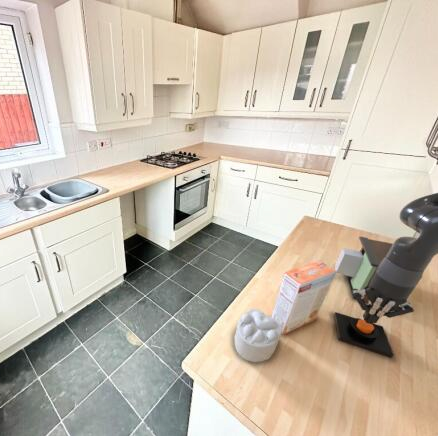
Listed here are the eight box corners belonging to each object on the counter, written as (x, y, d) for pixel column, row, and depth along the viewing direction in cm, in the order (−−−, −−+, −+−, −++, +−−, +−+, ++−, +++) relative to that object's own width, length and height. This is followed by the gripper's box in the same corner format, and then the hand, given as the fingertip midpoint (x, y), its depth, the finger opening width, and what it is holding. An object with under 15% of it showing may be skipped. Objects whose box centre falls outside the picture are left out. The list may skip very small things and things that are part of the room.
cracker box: (299, 307, 83) (318, 258, 73) (315, 321, 78) (339, 271, 68) (267, 320, 78) (283, 270, 68) (282, 336, 73) (302, 285, 63)
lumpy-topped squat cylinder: (280, 342, 72) (288, 322, 68) (260, 373, 64) (267, 353, 60) (247, 320, 79) (252, 301, 74) (225, 346, 71) (229, 326, 67)
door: (352, 276, 93) (367, 247, 87) (359, 298, 84) (377, 267, 77) (332, 271, 96) (345, 243, 89) (336, 292, 87) (351, 261, 80)
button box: (379, 331, 74) (385, 322, 72) (390, 359, 67) (396, 350, 65) (332, 316, 79) (337, 307, 77) (337, 341, 72) (342, 332, 70)
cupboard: (381, 279, 94) (401, 244, 86) (397, 313, 80) (423, 275, 72) (343, 269, 99) (359, 236, 91) (352, 300, 85) (372, 263, 77)
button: (369, 326, 72) (372, 322, 71) (373, 335, 69) (375, 331, 68) (354, 321, 73) (357, 317, 73) (357, 330, 71) (359, 326, 70)
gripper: (367, 277, 61) (342, 322, 70) (439, 294, 56) (403, 341, 64) (360, 260, 67) (338, 304, 76) (425, 274, 62) (393, 320, 70)
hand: (368, 321), depth 70 cm, fingers closed
